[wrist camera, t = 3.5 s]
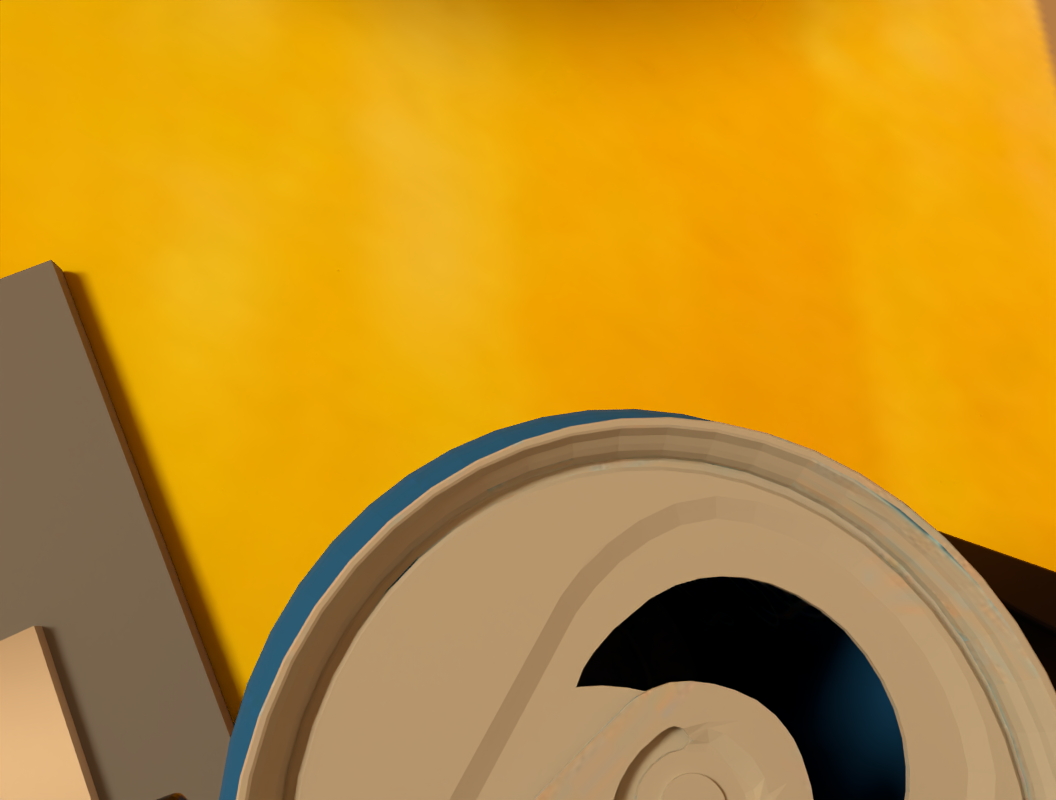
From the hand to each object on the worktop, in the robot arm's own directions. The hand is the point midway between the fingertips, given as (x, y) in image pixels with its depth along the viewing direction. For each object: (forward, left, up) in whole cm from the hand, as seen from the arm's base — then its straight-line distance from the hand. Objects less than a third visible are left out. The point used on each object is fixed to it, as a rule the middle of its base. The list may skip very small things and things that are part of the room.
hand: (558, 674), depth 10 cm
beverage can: (-1, +1, -7) cm, 7 cm away
